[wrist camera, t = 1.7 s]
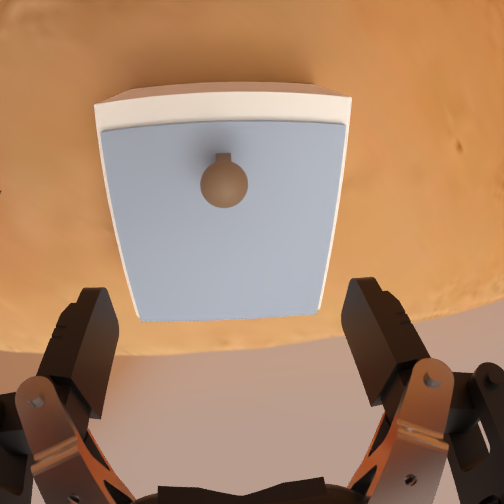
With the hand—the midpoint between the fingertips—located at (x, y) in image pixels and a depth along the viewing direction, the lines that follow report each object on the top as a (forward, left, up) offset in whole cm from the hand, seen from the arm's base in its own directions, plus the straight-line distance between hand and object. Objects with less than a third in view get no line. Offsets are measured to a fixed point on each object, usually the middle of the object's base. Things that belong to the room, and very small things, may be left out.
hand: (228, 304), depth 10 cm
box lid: (+6, 0, -14) cm, 16 cm away
